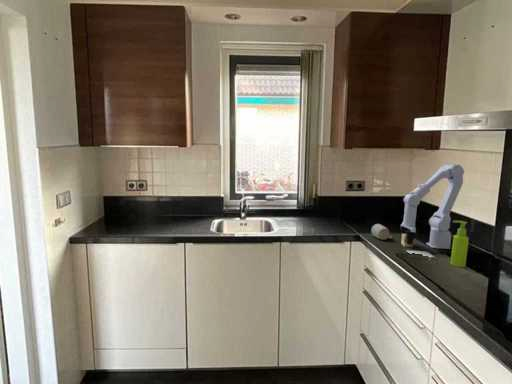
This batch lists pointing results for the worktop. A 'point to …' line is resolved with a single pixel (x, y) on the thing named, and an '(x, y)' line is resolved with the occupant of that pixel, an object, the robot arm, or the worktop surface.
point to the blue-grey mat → (420, 253)
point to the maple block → (405, 241)
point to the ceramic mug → (380, 232)
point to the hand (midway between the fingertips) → (407, 242)
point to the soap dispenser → (459, 246)
